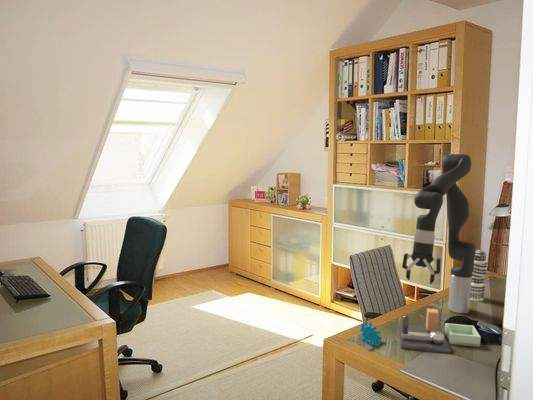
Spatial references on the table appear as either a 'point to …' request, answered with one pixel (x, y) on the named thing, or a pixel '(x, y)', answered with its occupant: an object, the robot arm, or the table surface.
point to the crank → (433, 336)
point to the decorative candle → (478, 276)
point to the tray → (462, 334)
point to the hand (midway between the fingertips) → (419, 281)
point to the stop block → (432, 319)
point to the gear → (370, 334)
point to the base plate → (421, 344)
